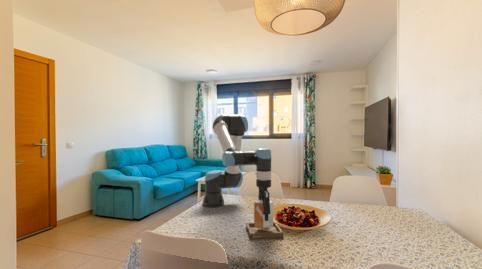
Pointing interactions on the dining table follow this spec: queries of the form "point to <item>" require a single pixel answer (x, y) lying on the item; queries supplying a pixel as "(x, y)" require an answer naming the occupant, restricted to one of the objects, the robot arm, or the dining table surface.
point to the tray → (264, 232)
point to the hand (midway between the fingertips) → (263, 222)
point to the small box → (259, 216)
